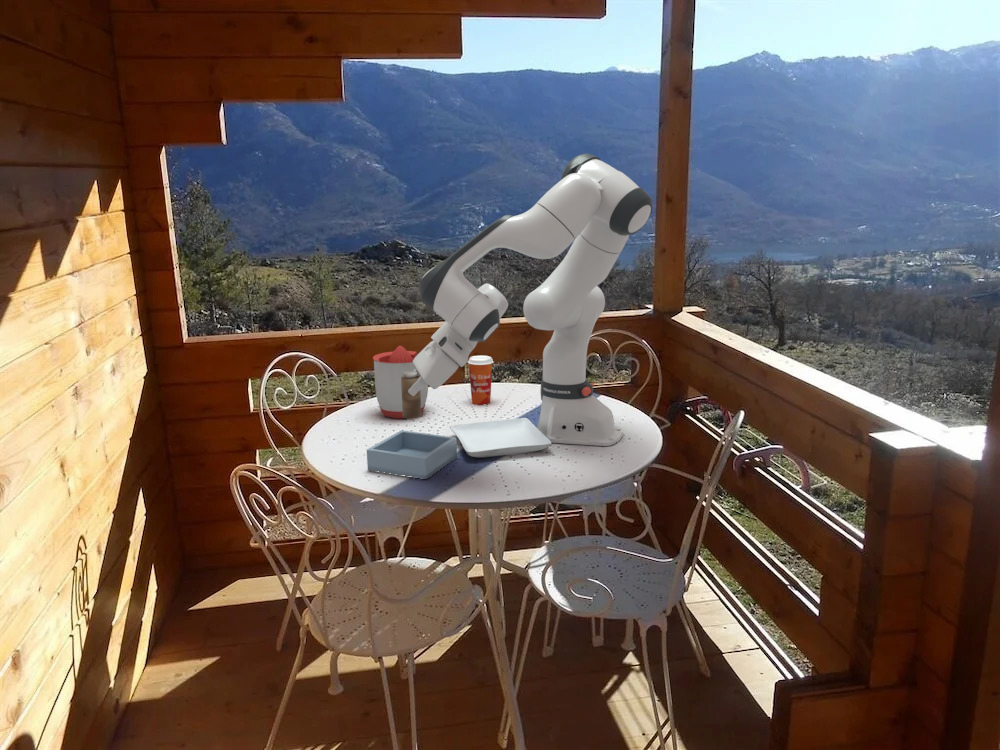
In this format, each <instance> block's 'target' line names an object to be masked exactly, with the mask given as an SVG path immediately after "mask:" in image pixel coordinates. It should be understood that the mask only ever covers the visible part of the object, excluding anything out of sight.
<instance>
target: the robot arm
mask: <svg viewBox="0 0 1000 750" xmlns="http://www.w3.org/2000/svg"><path fill="white" fill-rule="evenodd" d="M560 177H561V178H560V180H559V181H558V182H557V183H555V184H554V185H553V186H552V187H551V188H550V189H549V190H548V191H546V193H544V195H543V196H542V197H540V198H539V200H537V202H536V203H535V204H534V205H533V206H532V207H531V208H529V209H528V210H527V211H525V212H523V213H520V214H518V215H511V214H506V215H503V216H502V217H499V218H498V219H496V220H495V221H493V222H492V223H491V224H489V225H488V226H486V227H485V228H484V229H483V230H481V231H480V232H479V233H478V234H476V235H475V236H474V237H472V238H471V239H470V240H468V241H467V242H466V243H465V244H464V245H462V246H461V247H459V249H457V250H456V251H455V252H454V253H452V254H451V255H449V256H448V257H446V259H444V260H443V261H441V262H440V263H439V264H437V265H435V266H434V267H432V268H431V269H429V270H428V271H427V272H426V273H425V274H424V275H423V276H422V277H421V279H420V280H419V282H418V294H419V298H420V302H421V303H422V304H424V305H425V306H427V308H429V309H430V310H431V311H433V312H435V313H436V314H437V315H438V316H439V317H440V318H442V319H443V320H444V321H445V322H443V323H442V324H441V325H440V326H439V328H438V329H437V330H436V331H435V332H433V334H432V335H431V336H430V338H431V339H432V341H430V342H429V343H428V344H427V345H426V346H425V347H424V348H423V349H422V350H421V351H420V352H419V353H417V356H416V357H415V358H414V360H413V364H414V366H415V367H416V369H415V370H414V372H417V374H418V376H420V377H419V378H418V380H417V381H416V382H415V383H414V384H413V385H411V386H410V387H409V388H408V392H409V394H411V395H412V396H415V395H416V394H417V392H418V391H420V390H421V389H423V388H424V387H426V386H427V385H428V387H430V388H431V389H433V390H436V389H438V388H440V387H441V386H442V385H443V384H444V383H445V382H446V381H447V380H448V379H449V378H451V377H452V376H453V375H454V374H455V373H456V372H457V370H458V369H459V367H461V368H463V367H464V366H465V365H466V364H467V363H468V361H469V355H470V354H471V353H472V351H474V349H475V347H476V346H477V344H478V343H479V342H482V343H484V342H486V341H487V340H488V339H489V338H490V337H491V335H493V334H494V332H495V331H496V330H497V329H498V328H499V327H500V325H501V322H500V321H501V318H503V315H504V314H505V313H506V311H507V309H508V308H509V302H508V300H507V298H506V297H505V295H504V293H503V292H501V290H500V289H498V288H497V287H495V286H494V285H492V284H490V283H484V284H482V285H481V286H479V287H478V288H477V287H476V286H475V285H474V284H473V283H471V282H470V281H469V280H468V279H467V277H465V276H464V272H465V271H466V270H468V269H469V268H470V267H471V266H473V265H474V264H476V263H477V261H479V260H480V259H482V258H483V257H484V256H485V255H487V254H488V253H489V252H490V251H492V250H495V249H500V248H501V249H509V250H512V251H515V252H517V253H519V254H522V255H524V256H528V257H530V258H534V259H538V260H539V259H540V260H548V259H549V260H550V259H554V258H555V257H556V258H557V257H558V256H559V255H561V254H562V253H563V252H564V251H565V250H566V249H568V248H569V247H570V248H569V250H568V252H567V254H566V255H565V256H564V258H563V259H562V261H561V262H560V263H559V264H558V266H557V267H556V268H555V269H554V270H553V271H552V272H551V274H550V275H549V276H548V277H547V278H546V279H545V280H544V281H543V282H542V283H541V284H540V285H539V286H538V287H537V288H535V289H534V290H533V291H531V292H529V293H528V294H527V296H526V297H525V299H524V302H523V305H522V306H523V308H522V309H523V316H524V318H525V321H527V324H528V325H529V326H530V327H532V328H534V329H536V330H542V331H553V333H552V336H551V338H550V340H549V341H548V342H547V344H546V345H545V346H544V349H543V352H542V379H541V380H540V381H541V382H540V400H541V407H540V412H539V413H540V414H539V419H538V422H537V426H536V428H537V429H538V430H539V431H540V432H541V433H543V434H544V435H545V436H546V437H547V438H548V439H549V440H550V441H551V444H567V445H568V444H569V445H581V446H582V445H583V446H588V445H589V446H599V447H601V446H603V447H608V446H612V445H615V444H617V443H619V441H620V440H621V439H622V438H623V436H624V434H623V433H624V430H623V429H622V428H621V427H620V426H616V425H615V419H614V414H613V411H612V410H611V409H610V408H609V407H608V406H607V405H605V404H604V403H603V402H602V401H601V400H599V398H597V397H596V396H595V395H593V394H594V391H593V390H594V386H595V385H594V384H595V382H592V383H590V382H589V381H588V380H587V379H586V375H587V355H588V346H589V344H590V339H591V336H592V334H593V333H592V332H593V330H594V327H595V326H596V325H595V324H596V322H597V320H598V319H599V318H600V316H601V315H602V314H603V312H604V310H605V306H606V298H605V295H604V292H603V291H602V289H601V288H600V286H598V285H600V284H602V283H603V282H604V281H605V280H606V279H607V278H608V276H609V273H610V272H611V270H612V269H613V267H614V265H615V263H616V261H617V259H618V258H619V256H620V254H621V253H622V251H623V249H624V247H625V245H626V243H627V242H628V239H629V237H630V235H635V234H636V233H638V232H639V231H640V230H641V229H642V228H643V227H644V226H645V225H646V223H647V222H648V221H649V219H650V217H651V215H652V213H653V212H652V211H653V200H652V197H651V196H650V194H649V193H648V192H647V191H646V190H645V189H644V188H642V187H639V185H638V184H637V183H636V182H634V181H633V180H632V179H631V178H630V177H629V176H627V175H626V174H625V173H623V172H622V171H620V170H617V169H616V168H615V167H612V166H611V165H610V164H608V163H606V162H604V161H602V160H601V158H600V157H597V156H596V155H594V154H591V153H590V154H589V153H583V154H579V155H577V156H575V157H573V158H572V159H571V160H570V161H569V162H567V164H566V166H565V167H564V168H563V171H562V172H561V176H560ZM570 245H571V246H570ZM622 435H623V436H622ZM621 437H622V438H621ZM616 442H617V443H616Z"/></svg>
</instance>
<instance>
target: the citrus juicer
mask: <svg viewBox="0 0 1000 750" xmlns="http://www.w3.org/2000/svg"><path fill="white" fill-rule="evenodd" d="M417 355H418V353H417V351H413V350H407V349H406V348H405V347H404V346H403V345H399V346H397V347H396V348H395V349H394V350H393V351H387V352H381V353H377V354H375V355H374V356H373V357H372V360H373V371H374V388H375V394H376V395H375V396H376V400H377V404H378V405H379V409H380V411H381V413H382V415H383V416H385V417H388V418H393V419H394V418H395V419H396V420H400V419H402V420H403V419H405V418H404V417H403V412H402V390H401V377H402V376H403V373H404V372H408V371H414V370H415V369H416V367H415V366H414V364H413V360H414V358H415V357H416V356H417ZM428 393H429V385H427V386H426V387H424V388H423V389H421V390H420V394H421V414H422V413H423V412H424V410H425V407H426V402H427V399H428Z"/></svg>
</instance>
